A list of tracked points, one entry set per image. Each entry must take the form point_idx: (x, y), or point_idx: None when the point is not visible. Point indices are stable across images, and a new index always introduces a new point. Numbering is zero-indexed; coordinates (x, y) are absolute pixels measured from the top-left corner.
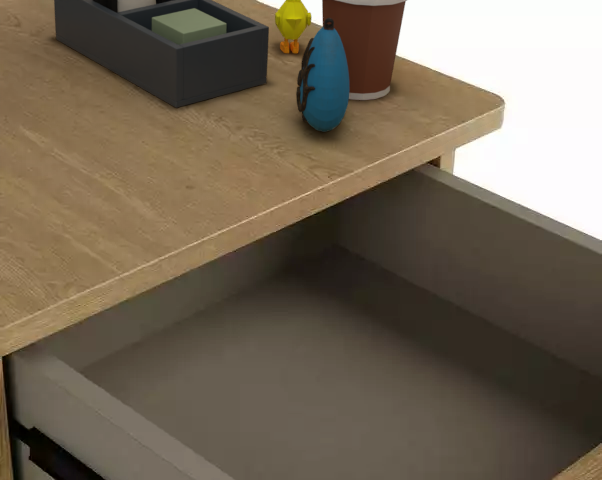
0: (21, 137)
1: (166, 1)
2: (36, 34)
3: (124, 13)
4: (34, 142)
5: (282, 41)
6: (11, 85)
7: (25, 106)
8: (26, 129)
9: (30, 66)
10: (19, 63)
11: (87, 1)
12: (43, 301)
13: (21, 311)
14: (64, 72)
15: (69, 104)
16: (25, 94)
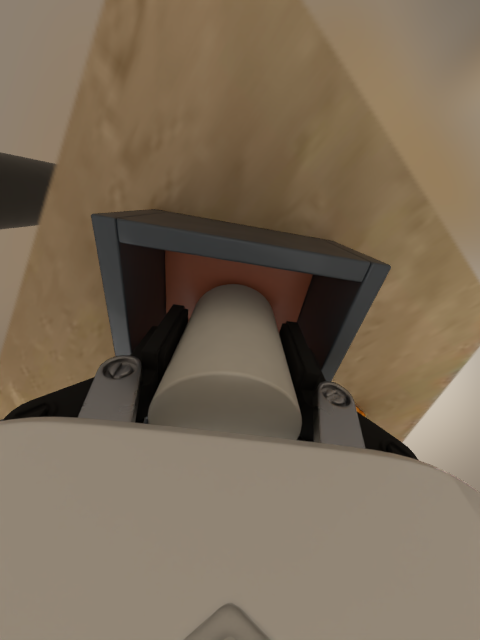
0: (6, 396)
1: (310, 346)
2: (135, 155)
3: (147, 418)
4: (16, 407)
5: (357, 410)
6: (23, 307)
7: (26, 357)
8: (14, 389)
9: (68, 274)
10: (56, 254)
11: (117, 354)
12: None
13: None
14: (105, 318)
15: (75, 377)
16: (34, 336)
